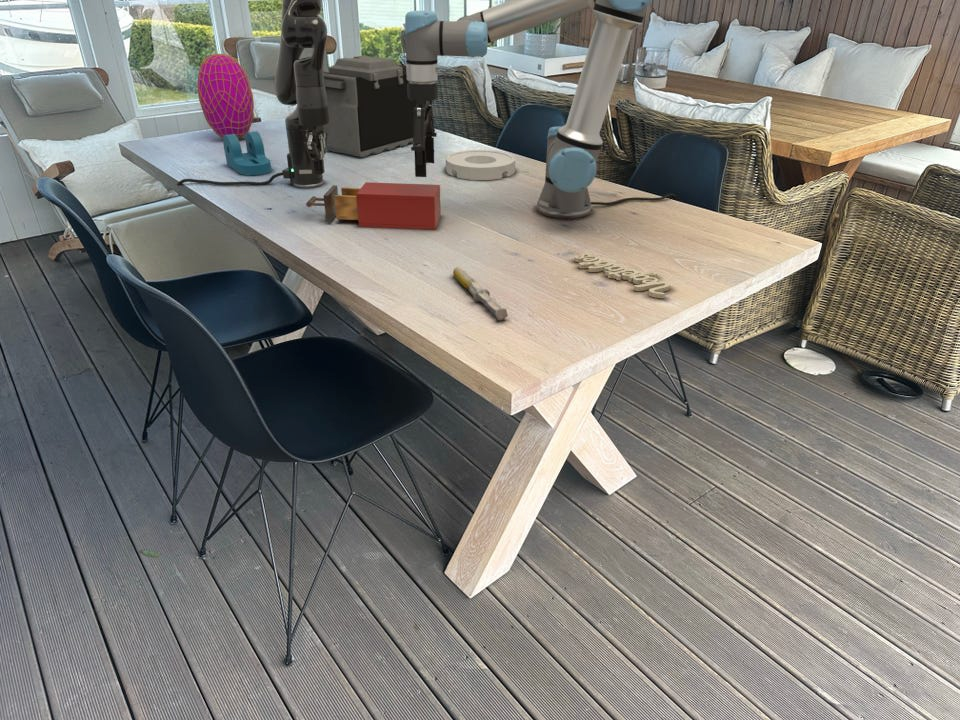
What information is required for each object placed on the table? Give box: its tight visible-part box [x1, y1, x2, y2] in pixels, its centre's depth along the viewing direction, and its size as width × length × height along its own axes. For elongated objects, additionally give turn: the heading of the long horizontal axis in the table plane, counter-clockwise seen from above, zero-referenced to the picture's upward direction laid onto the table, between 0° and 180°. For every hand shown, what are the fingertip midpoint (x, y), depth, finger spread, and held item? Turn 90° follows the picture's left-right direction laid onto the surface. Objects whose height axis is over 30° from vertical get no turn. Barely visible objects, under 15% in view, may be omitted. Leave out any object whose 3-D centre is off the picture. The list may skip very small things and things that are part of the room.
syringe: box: [452, 266, 509, 321], centre depth 145 cm, size 25×4×3 cm, turn 21°
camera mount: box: [222, 131, 272, 176], centre depth 226 cm, size 18×10×10 cm, turn 35°
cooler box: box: [323, 55, 417, 159], centre depth 250 cm, size 37×22×30 cm, turn 144°
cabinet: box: [356, 181, 442, 231], centre depth 183 cm, size 20×11×9 cm, turn 85°
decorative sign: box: [574, 252, 671, 299], centre depth 155 cm, size 26×1×10 cm
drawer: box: [305, 184, 361, 222], centre depth 184 cm, size 25×9×7 cm, turn 85°
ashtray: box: [445, 149, 516, 181], centre depth 229 cm, size 23×23×4 cm
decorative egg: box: [197, 53, 255, 140], centre depth 258 cm, size 19×19×30 cm
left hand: (319, 173), depth 181 cm, fingers closed
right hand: (425, 169), depth 178 cm, fingers open, 13 cm apart
